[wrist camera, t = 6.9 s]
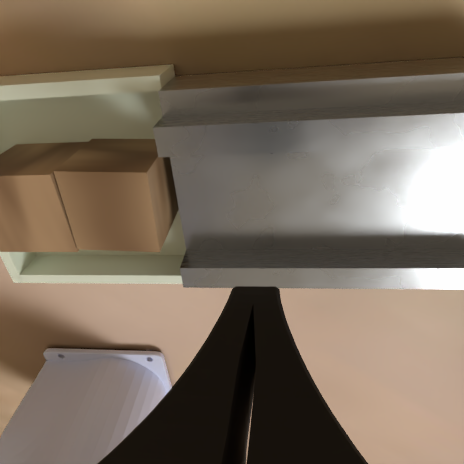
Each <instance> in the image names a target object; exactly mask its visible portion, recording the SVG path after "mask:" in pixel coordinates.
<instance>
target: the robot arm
mask: <svg viewBox="0 0 464 464" xmlns="http://www.w3.org/2000/svg"><path fill="white" fill-rule="evenodd" d="M43 355H44V357H45V359H46V362H45V364H44V365H43V367H42V369H41V370H40V372H39V374H38V375H37V377H36V379H35V380H34V382H33V383H32V385H31V387H30V388H29V390H28V392H27V393H26V395H25V396H24V398H23V400H22V401H21V403H20V405H19V406H18V408H17V410H16V411H15V413H14V414H13V416H12V418H11V419H10V421H9V423H8V424H7V426H6V428H5V429H4V431H3V433H2V435H1V438H0V464H246V449H247V439H248V431H249V423H250V416H251V409H252V417H251V428H250V438H249V447H248V457H247V464H368V463H367V462H366V460H365V459H364V458H363V456H362V455H361V454H360V452H359V451H358V450H357V448H356V447H355V445H354V444H353V443H352V441H351V440H350V438H349V437H348V435H347V434H346V432H345V431H344V429H343V428H342V427H341V425H340V424H339V422H338V421H337V419H336V418H335V416H334V415H333V413H332V412H331V410H330V408H329V407H328V405H327V403H326V402H325V400H324V398H323V397H322V395H321V393H320V392H319V390H318V388H317V386H316V385H315V383H314V381H313V379H312V377H311V375H310V373H309V371H308V370H307V368H306V366H305V363H304V361H303V359H302V357H301V355H300V353H299V351H298V349H297V346H296V344H295V342H294V339H293V337H292V334H291V332H290V329H289V326H288V324H287V321H286V318H285V315H284V311H283V308H282V304H281V299H280V291H279V289H278V288H277V287H276V286H236V287H234V288H233V289H232V291H231V294H230V296H229V299H228V301H227V303H226V305H225V307H224V309H223V311H222V313H221V315H220V317H219V319H218V321H217V322H216V324H215V326H214V328H213V329H212V331H211V333H210V334H209V336H208V338H207V339H206V341H205V343H204V344H203V346H202V347H201V349H200V350H199V352H198V353H197V355H196V356H195V358H194V359H193V361H192V362H191V363H190V365H189V366H188V368H187V369H186V370H185V372H184V373H183V374H182V376H181V377H180V378H179V379H178V381H177V382H176V383H175V385H174V386H173V387H172V386H171V382H170V378H169V374H168V370H167V367H166V363H165V359H164V356H163V354H162V353H161V352H158V351H131V350H97V349H63V348H47V349H46V350H45V351H44V353H43ZM253 394H254V396H253ZM252 402H253V407H252Z"/></svg>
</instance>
